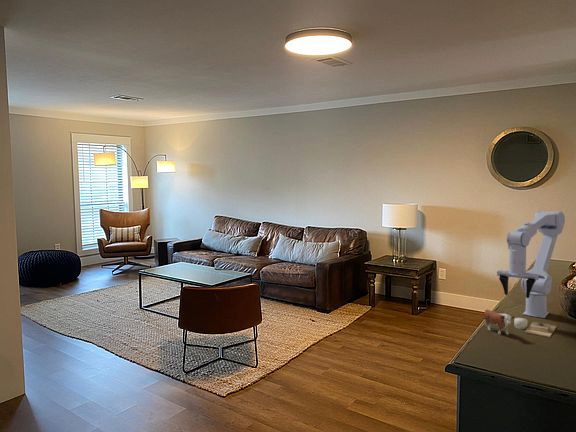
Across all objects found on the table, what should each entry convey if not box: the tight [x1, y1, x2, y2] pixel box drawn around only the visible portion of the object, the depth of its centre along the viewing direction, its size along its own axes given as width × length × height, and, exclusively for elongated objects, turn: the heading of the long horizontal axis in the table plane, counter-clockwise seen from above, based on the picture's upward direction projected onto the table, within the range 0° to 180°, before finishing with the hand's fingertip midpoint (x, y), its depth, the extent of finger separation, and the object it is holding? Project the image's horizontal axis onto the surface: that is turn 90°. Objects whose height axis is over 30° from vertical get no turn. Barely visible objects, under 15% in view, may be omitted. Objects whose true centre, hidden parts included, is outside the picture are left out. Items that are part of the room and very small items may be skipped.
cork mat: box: [524, 321, 558, 339], centre depth 162 cm, size 14×8×1 cm, turn 140°
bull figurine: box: [483, 309, 515, 336], centre depth 160 cm, size 4×13×8 cm, turn 15°
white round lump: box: [513, 317, 528, 330], centre depth 166 cm, size 4×4×3 cm
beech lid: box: [530, 321, 552, 332], centre depth 162 cm, size 6×6×2 cm
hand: (516, 295), depth 172 cm, fingers open, 7 cm apart
